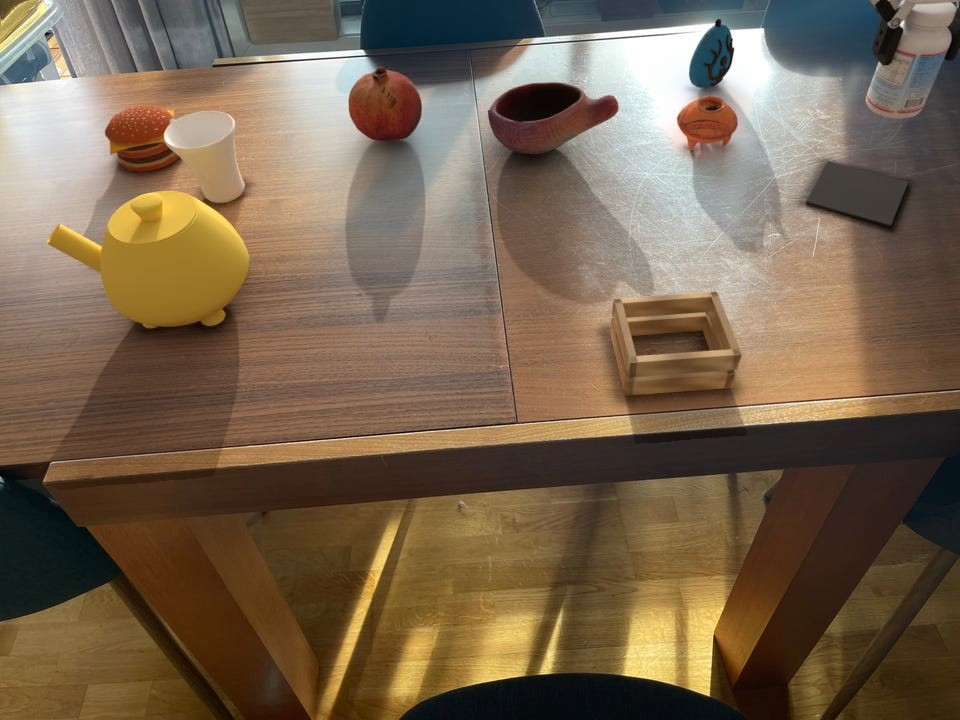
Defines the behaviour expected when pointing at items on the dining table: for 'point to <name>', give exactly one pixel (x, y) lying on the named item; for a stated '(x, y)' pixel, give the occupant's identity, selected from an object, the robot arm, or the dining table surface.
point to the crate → (678, 367)
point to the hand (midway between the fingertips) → (912, 55)
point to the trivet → (858, 193)
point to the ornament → (712, 57)
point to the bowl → (546, 116)
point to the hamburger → (141, 138)
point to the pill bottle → (913, 62)
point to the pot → (707, 121)
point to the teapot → (164, 260)
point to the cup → (208, 152)
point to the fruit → (385, 105)
